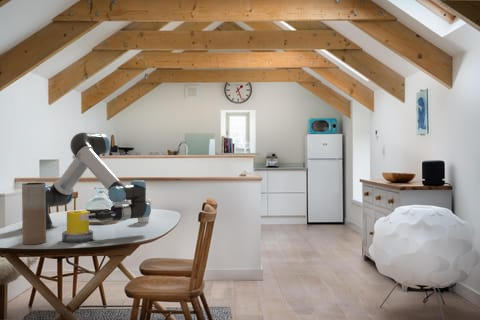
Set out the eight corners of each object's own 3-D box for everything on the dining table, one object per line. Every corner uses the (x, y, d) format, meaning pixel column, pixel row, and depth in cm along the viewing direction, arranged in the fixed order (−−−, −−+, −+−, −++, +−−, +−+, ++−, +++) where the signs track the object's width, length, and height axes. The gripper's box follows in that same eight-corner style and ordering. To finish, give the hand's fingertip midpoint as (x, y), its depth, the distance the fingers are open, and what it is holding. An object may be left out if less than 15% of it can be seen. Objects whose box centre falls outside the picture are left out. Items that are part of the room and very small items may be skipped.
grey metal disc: (58, 239, 220) (58, 231, 220) (88, 236, 228) (88, 228, 228) (66, 244, 208) (66, 235, 208) (96, 240, 216) (96, 232, 216)
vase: (18, 244, 208) (17, 183, 207) (31, 240, 218) (30, 182, 217) (37, 245, 206) (37, 184, 206) (50, 240, 216) (49, 182, 215)
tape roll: (66, 230, 220) (66, 211, 220) (87, 229, 224) (87, 210, 224) (67, 234, 211) (67, 213, 211) (90, 232, 215) (90, 212, 215)
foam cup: (132, 221, 272) (132, 200, 271) (146, 220, 278) (146, 198, 277) (140, 223, 264) (140, 201, 264) (154, 222, 271) (154, 200, 270)
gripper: (129, 222, 219) (84, 227, 207) (112, 216, 240) (70, 220, 228) (129, 207, 219) (84, 210, 207) (111, 202, 239) (70, 205, 227)
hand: (77, 215), depth 217 cm, fingers open, 13 cm apart
